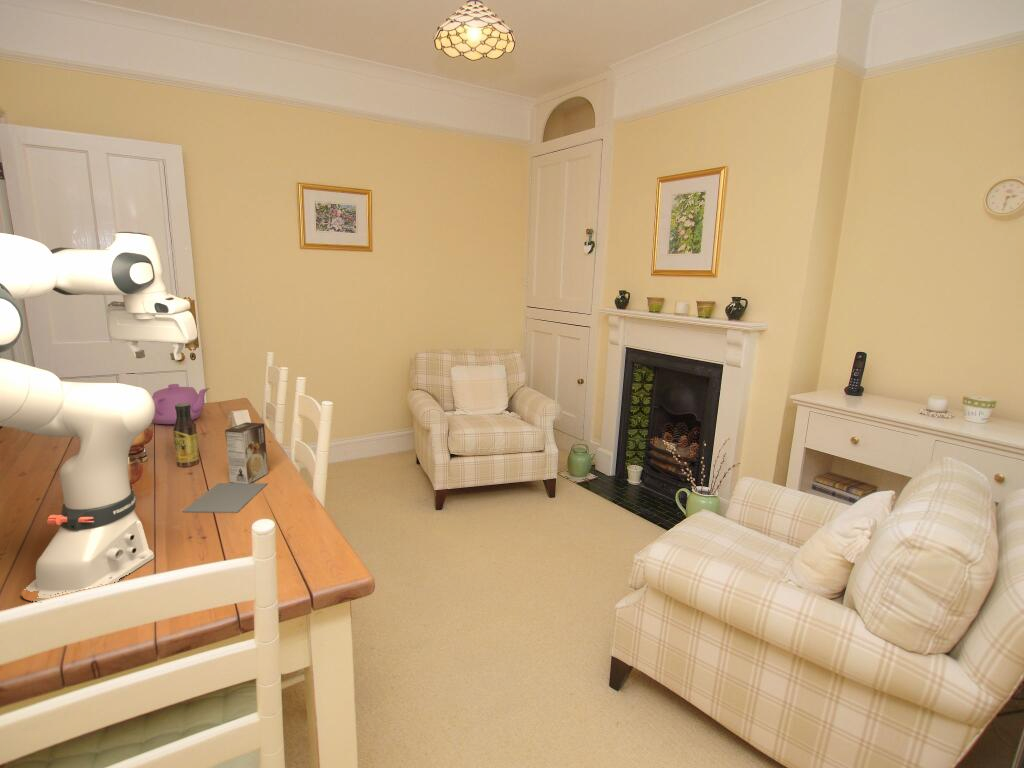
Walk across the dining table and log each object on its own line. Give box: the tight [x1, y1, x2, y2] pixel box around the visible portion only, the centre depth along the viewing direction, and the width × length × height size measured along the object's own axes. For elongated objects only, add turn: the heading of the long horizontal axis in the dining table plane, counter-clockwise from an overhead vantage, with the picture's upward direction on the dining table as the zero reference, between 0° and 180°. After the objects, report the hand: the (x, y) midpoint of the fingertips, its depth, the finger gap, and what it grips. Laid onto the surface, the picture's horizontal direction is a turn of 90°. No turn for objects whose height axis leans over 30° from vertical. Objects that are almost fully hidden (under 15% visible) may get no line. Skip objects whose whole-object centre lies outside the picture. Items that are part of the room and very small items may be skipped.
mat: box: [182, 482, 268, 514], centre depth 144 cm, size 18×14×1 cm
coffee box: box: [224, 422, 269, 484], centre depth 155 cm, size 9×6×16 cm
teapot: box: [151, 383, 210, 425], centre depth 208 cm, size 23×21×15 cm
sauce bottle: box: [172, 403, 200, 468], centre depth 164 cm, size 7×6×20 cm
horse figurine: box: [226, 408, 253, 427], centre depth 189 cm, size 5×16×25 cm
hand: (158, 358), depth 129 cm, fingers open, 8 cm apart
